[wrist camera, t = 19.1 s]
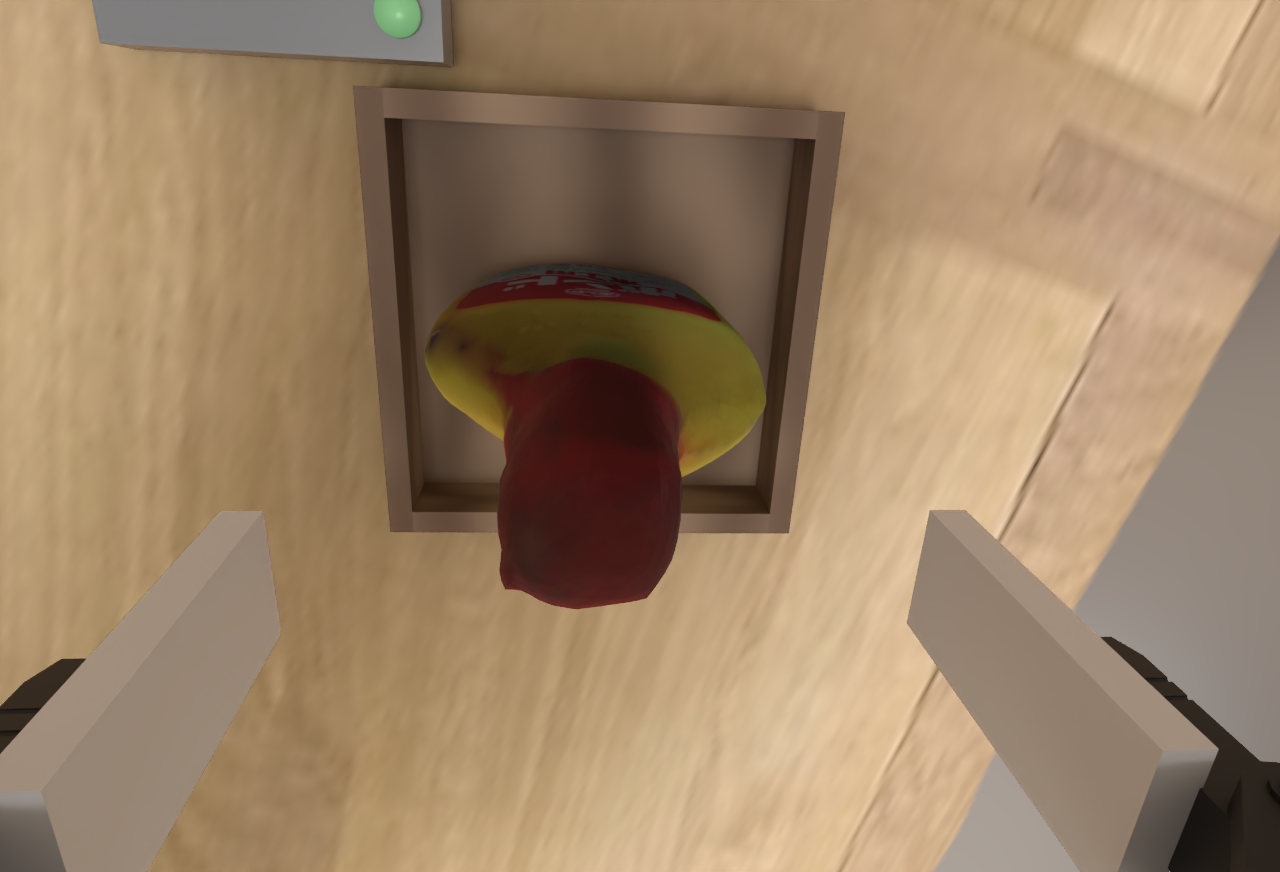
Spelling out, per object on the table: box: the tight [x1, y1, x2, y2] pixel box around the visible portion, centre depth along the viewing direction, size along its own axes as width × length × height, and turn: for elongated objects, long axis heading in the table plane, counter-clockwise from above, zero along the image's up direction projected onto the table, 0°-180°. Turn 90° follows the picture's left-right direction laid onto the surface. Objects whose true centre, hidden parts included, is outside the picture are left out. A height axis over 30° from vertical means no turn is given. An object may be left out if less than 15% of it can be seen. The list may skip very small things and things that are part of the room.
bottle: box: [424, 263, 766, 609], centre depth 25 cm, size 12×6×20 cm, turn 75°
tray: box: [353, 86, 845, 533], centre depth 33 cm, size 18×18×4 cm
